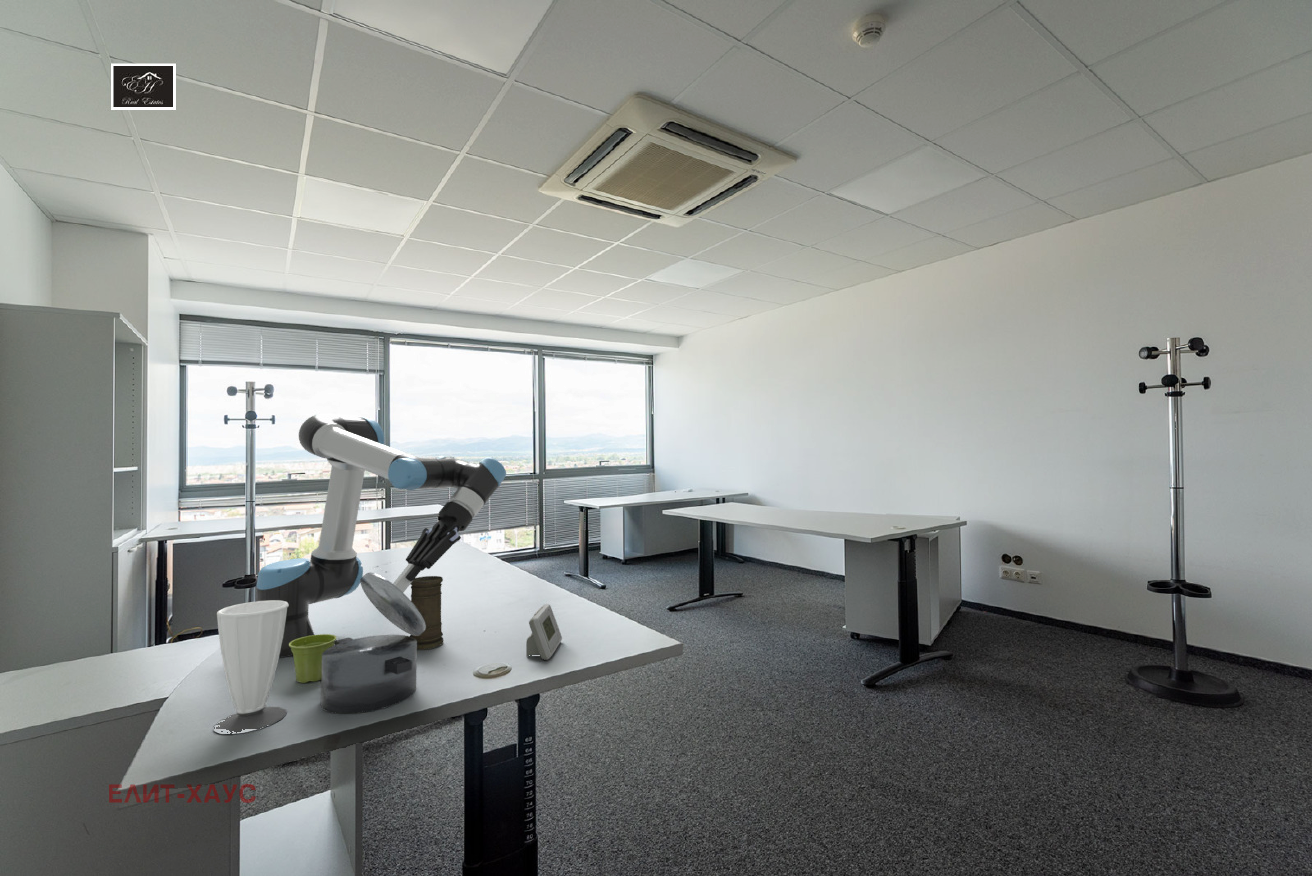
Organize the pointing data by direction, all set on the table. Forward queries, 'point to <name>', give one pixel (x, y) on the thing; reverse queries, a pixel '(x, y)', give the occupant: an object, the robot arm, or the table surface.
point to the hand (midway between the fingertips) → (395, 591)
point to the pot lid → (393, 604)
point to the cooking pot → (368, 673)
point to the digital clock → (543, 633)
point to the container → (428, 610)
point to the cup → (251, 660)
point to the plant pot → (310, 656)
